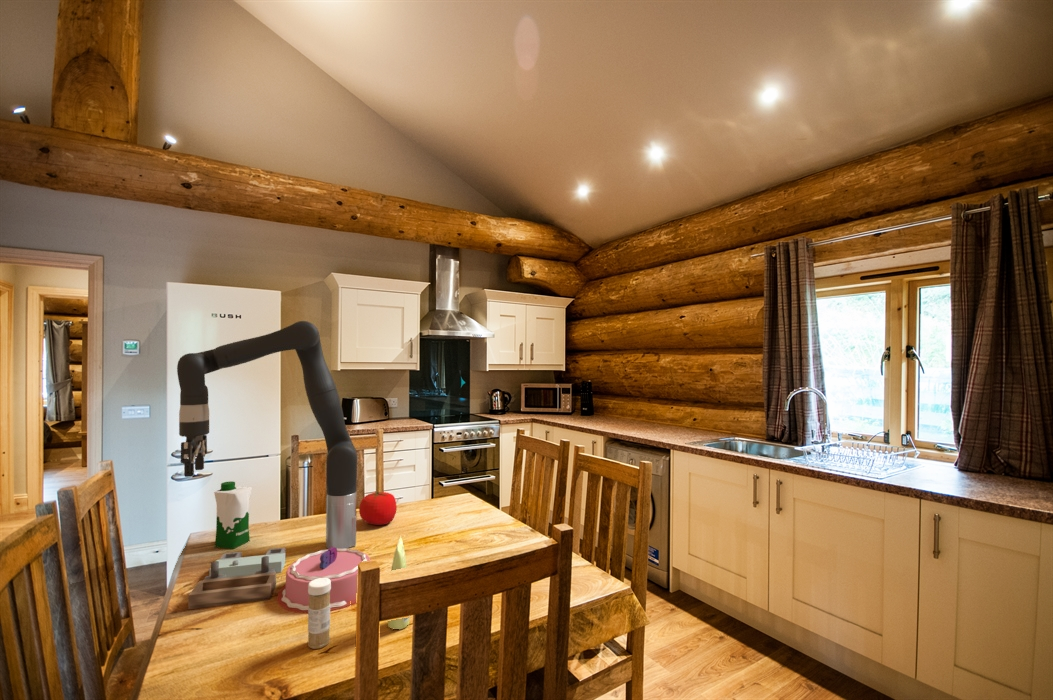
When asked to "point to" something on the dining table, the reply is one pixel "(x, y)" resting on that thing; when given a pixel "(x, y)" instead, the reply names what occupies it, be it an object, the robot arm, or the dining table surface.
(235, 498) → the milk carton
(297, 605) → the cake
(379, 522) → the tomato
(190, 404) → the robot arm
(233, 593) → the carcass
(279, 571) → the door
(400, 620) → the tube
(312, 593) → the sprinkles bottle
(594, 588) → the dining table surface
